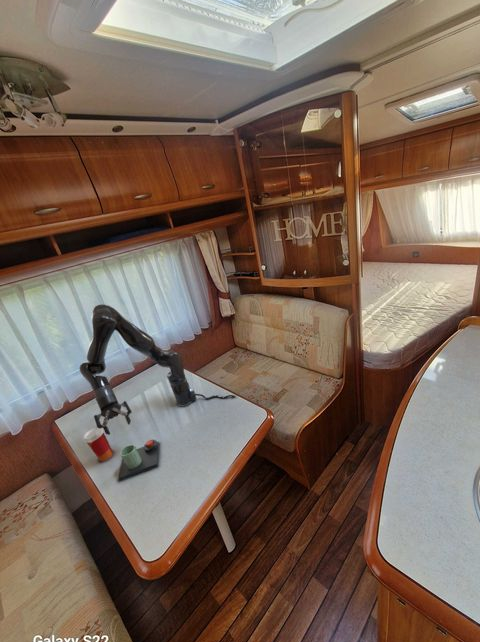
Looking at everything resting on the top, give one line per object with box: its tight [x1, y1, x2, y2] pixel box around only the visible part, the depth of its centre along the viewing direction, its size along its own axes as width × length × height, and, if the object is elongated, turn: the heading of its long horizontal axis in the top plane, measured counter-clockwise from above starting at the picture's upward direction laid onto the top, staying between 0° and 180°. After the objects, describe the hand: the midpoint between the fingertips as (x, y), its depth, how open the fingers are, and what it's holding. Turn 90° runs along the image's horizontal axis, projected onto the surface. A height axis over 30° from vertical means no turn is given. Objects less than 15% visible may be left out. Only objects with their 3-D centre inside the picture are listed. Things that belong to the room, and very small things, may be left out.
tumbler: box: [119, 443, 142, 469], centre depth 118 cm, size 6×6×8 cm
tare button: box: [145, 439, 154, 448], centre depth 126 cm, size 3×3×2 cm
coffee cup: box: [83, 427, 114, 462], centre depth 126 cm, size 8×8×15 cm
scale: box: [117, 439, 160, 482], centre depth 122 cm, size 16×14×4 cm
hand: (119, 429), depth 120 cm, fingers open, 8 cm apart
